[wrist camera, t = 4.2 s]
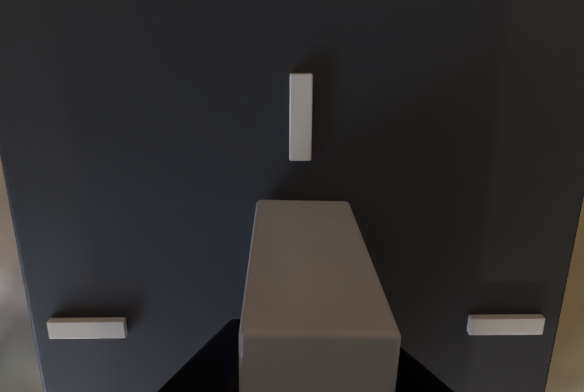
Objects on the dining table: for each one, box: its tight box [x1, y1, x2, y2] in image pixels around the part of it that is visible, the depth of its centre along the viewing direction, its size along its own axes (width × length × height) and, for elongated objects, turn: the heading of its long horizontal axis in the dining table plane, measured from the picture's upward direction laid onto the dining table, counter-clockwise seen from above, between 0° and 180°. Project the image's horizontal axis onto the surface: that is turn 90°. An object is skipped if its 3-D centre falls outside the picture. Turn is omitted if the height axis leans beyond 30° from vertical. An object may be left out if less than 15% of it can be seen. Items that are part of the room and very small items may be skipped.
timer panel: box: [0, 0, 584, 392], centre depth 11 cm, size 12×10×3 cm
